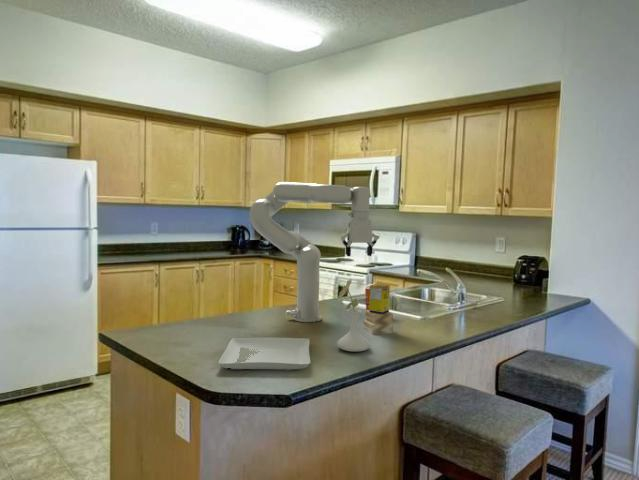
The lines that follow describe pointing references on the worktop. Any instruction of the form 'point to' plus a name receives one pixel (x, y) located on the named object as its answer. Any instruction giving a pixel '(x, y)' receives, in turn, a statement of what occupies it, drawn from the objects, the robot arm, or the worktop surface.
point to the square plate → (268, 353)
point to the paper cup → (367, 296)
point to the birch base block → (377, 328)
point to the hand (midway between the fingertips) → (358, 255)
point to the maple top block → (379, 318)
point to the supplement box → (379, 298)
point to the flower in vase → (352, 327)
